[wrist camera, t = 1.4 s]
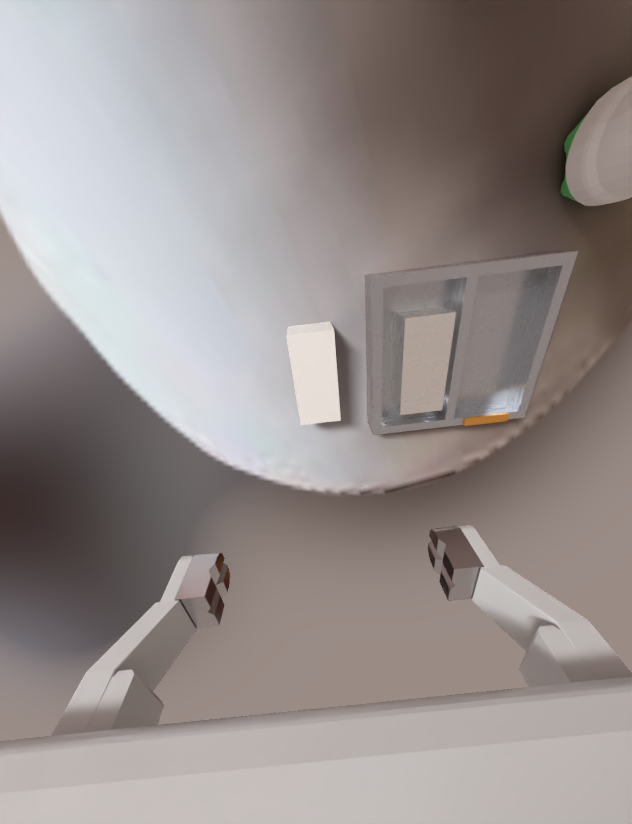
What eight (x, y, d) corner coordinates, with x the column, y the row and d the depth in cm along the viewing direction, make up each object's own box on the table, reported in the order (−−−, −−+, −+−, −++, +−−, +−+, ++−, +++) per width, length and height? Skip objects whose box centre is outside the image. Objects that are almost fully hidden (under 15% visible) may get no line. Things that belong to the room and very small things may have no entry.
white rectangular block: (288, 326, 28) (286, 335, 25) (330, 321, 28) (334, 329, 25) (300, 407, 33) (300, 425, 30) (336, 403, 33) (340, 420, 30)
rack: (365, 275, 26) (377, 277, 22) (550, 251, 26) (598, 249, 22) (367, 423, 35) (376, 446, 30) (506, 407, 34) (535, 427, 30)
